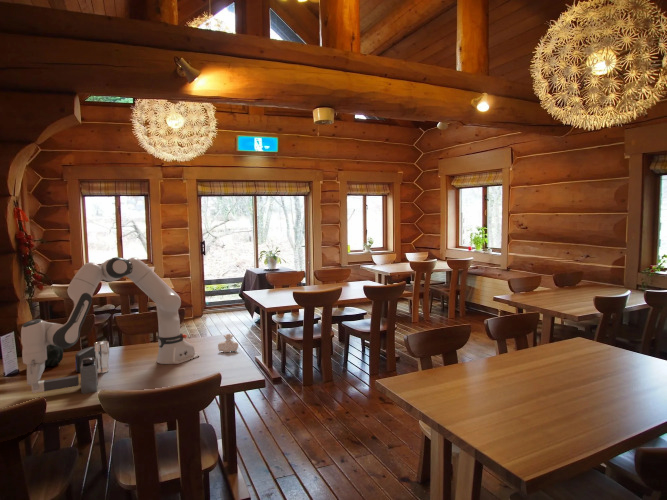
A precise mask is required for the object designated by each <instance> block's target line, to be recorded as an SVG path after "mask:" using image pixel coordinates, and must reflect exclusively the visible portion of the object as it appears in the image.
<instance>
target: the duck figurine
mask: <svg viewBox="0 0 667 500" xmlns="http://www.w3.org/2000/svg"><path fill="white" fill-rule="evenodd" d="M233 337H234V334H231V333H226V334H225V335H223V338H224V339H225V341H224V340H223V341H221V342H219V343H218V344H217V349H218V350H217V351H218V352H220V351H223V352H230V351H236V352H237V351H238V348H239V343H238V342H236V341H234V340H233ZM223 352H222V353H223Z"/></svg>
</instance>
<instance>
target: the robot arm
mask: <svg viewBox="0 0 667 500" xmlns="http://www.w3.org/2000/svg"><path fill="white" fill-rule="evenodd" d="M124 277H126V278H128V279H129V280H130V281H131V282H133V284H135V286H137V287H138V288H139V289H140V290H141V291H142V292H143V293H144V294H145V295H146V296H147V297H148V298H149V299H150V300H152V302H154V303H155V305H156V315H157V321H158V326H157V327H158V336H157V344H158V353H157V358H156V363H158V364H161V365H173V364H175V365H177V364H182V363H185V362H187V361H190V359H191V360H193V358H194V359H196V358H198V356H199V357H200V353H199V352H197V351H195V347H194V345H193V344H192V343H190V342H189V341H186V340H185V339H187V337H188V335H187V334H186V333H181V321H180V320H181V319H180V314H179V309H180V308H181V305H182V301H181V300H182V298H181V297H180V295H179V294H178V293H177V292H176V291H175V290H174V289H172V288H171V287H170V286H169V285H168V284H167V283H166V281H164V280H163V279H162V278H161V277H160V276H159V275H158V274H157V273H156V272H155V271H154V270H153V269H152V268H151V267H150V266H149V265H147V264H146V263H145V262H144V261H142V260H141V259H139V258H138V257H129V258H128V259H125V258H123V257H120V256H119V257H112V258H110V259H107V260H105V261H104V262H102V263H101V264H100V263H99V264H98V263H95V262H86V263H84V264H83V265H82V266H81V267H80V269H78V270H77V272H76V274H75V275H74V276H73V277H72V279H71V280H70V283H69V284H68V286H67V287H68V288H67V291H66V292H67V294H68V297H69V299H71V300H72V302H73V304H74V305H73V309H72V311H71V313H70V315H69V318H68V319H67V322H66V323H64V324H61V323H58V322H48V321H46V320H43V319H40V318H36V319H31V320H28V321H26V322H25V323H23V324H22V326H21V328H20V329H21V331H20V340H21V341H20V342H21V345H22V351H21V354H22V363H23V365H26V383H27V385H28V386H31V385H33V389H34V390H38V389H39V385H38V381H42V380H41V378H42V375H43V372H44V371H45V368H46V366H45V360H47V348H46V347H47V345H54V346H58V347H61V348H62V349H70V348H71V347H73V346H74V345H75V344H77V342H78V341H79V339H80V335H81V330H82V326H83V324H84V322H85V320H86V317H87V315H88V314H89V312H90V309H91V306H92V302H93V295H94V293H95V291H96V289H97V288H98V286H99V284H100V282H104V283H105V282H106V283H111V282H115V281H118V280H120V279H122V278H124Z"/></svg>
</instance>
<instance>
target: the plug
mask: <svg viewBox="0 0 667 500" xmlns="http://www.w3.org/2000/svg"><path fill="white" fill-rule="evenodd" d="M38 385H39V389H38V390H34V389H33V385H30V386H31V394H36V393H43V392H49V391H56V390H62V389H66V388H72V387H73V388H74V387H78V386H79V385H80V380H79V374H77V375H69V376H64V377H56V378H49V379H46V380H45V379H44V380H40V381H38Z"/></svg>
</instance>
